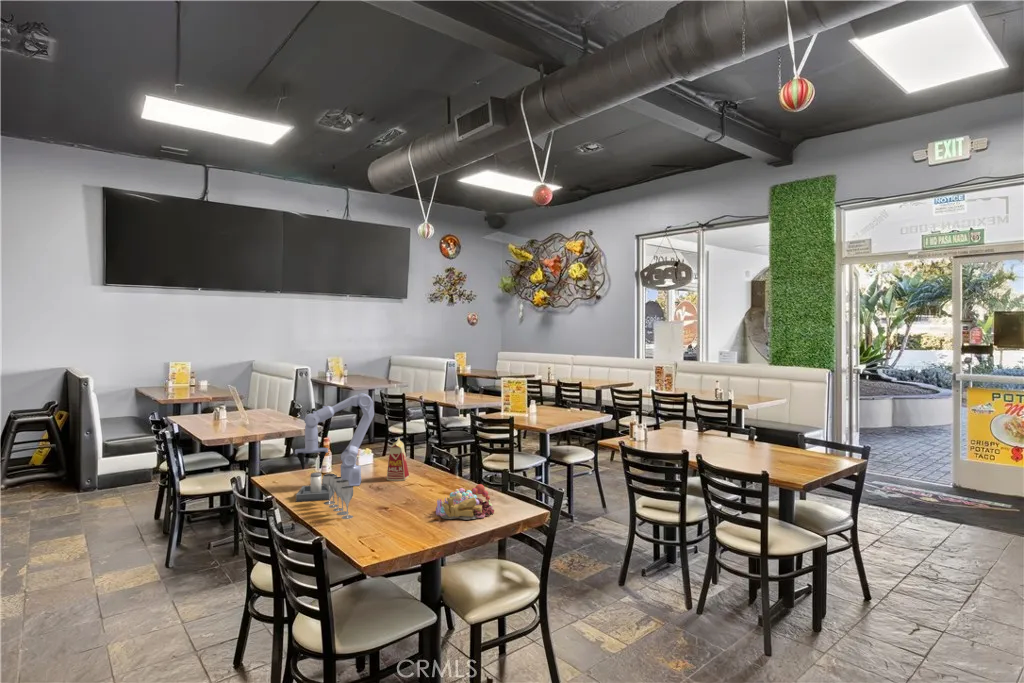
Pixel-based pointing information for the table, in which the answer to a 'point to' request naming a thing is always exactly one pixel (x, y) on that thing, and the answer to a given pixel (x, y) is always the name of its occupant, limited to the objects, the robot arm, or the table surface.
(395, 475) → the milk carton
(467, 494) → the candy landscape model
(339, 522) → the table surface
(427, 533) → the table surface
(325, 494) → the tray
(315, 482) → the cylinder
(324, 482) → the goblet set
